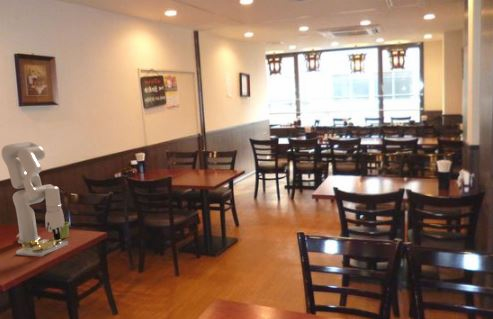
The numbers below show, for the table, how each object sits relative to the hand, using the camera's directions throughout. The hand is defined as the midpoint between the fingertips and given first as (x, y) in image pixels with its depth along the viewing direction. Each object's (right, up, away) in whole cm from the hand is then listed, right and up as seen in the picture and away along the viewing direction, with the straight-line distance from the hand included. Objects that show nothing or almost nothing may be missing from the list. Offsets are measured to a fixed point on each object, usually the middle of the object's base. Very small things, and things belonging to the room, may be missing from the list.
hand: (57, 239), depth 249 cm
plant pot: (-6, -3, +21) cm, 22 cm away
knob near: (-16, -4, +1) cm, 16 cm away
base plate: (-9, -6, +2) cm, 11 cm away
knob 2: (-3, -3, +4) cm, 5 cm away
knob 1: (-6, -4, -5) cm, 9 cm away
